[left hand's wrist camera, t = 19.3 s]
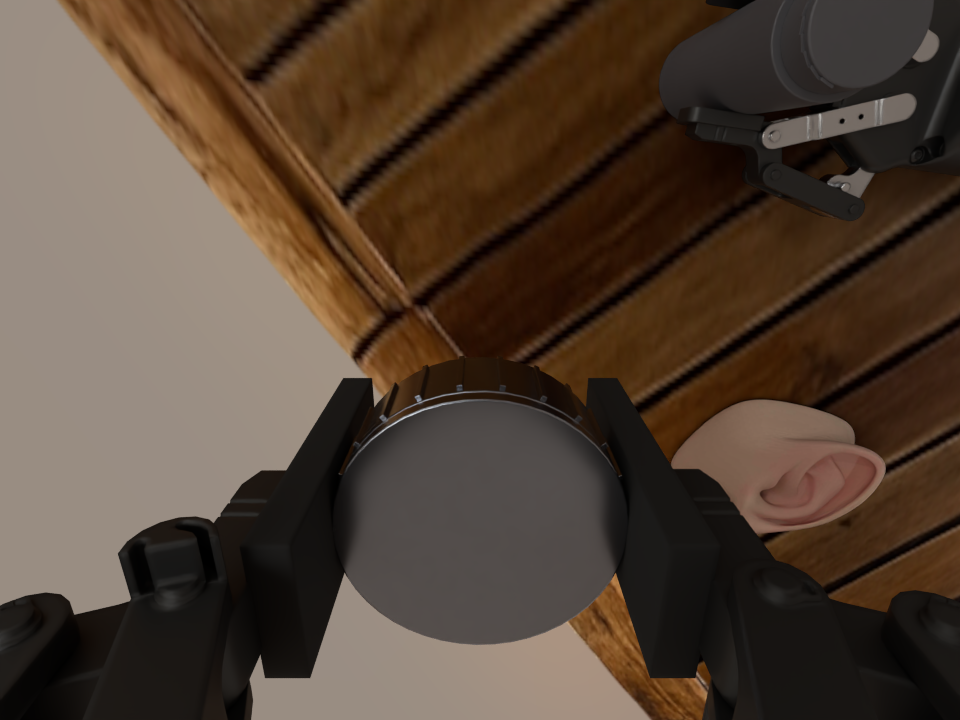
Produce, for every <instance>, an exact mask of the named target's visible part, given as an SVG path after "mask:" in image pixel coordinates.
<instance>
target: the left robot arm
mask: <svg viewBox="0 0 960 720" xmlns="http://www.w3.org/2000/svg"><path fill="white" fill-rule="evenodd" d="M370 407H372V408H374V398H373V385H372V378H343V380H342V381H341V383H340V385H339V386H338V388H337V389H336V391H335V393H334V394H333V396H332V397H331V399H330V401H329V402H328V404H327V406H326V407H325V409H324V410H323V412H322V414H321V415H320V417H319V418H318V420H317V422H316V423H315V425H314V427H313V428H312V430H311V431H310V433H309V435H308V436H307V438H306V440H305V441H304V443H303V444H302V446H301V448H300V449H299V451H298V452H297V454H296V456H295V457H294V459H293V461H292V462H291V464H290V465H289V467H288V469H287V470H286V471H260V472H259V473H257V474H256V475H254V476H253V477H252V478H250V479H249V480H247V481H246V482H245V483H243V484H242V485H241V486H240V488H239V489H238V490H237V492H236V493H235V495H234V496H233V497H232V499H231V500H230V503H228V504H227V506H226V507H225V508H224V510H223V511H222V512H221V516H220V517H218V518H217V519H216V521H215V522H214V523H213V522H212V521H210V520H209V519H204V518H200V517H180V518H175V519H171V520H168V521H164V522H160V523H158V524H156V525H154V526H151V527H149V528H147V529H145V530H143V531H141V532H140V533H138V534H137V535H136V536H134V537H133V538H132V539H130V540H129V541H127V543H126V544H125V545H124V546H123V548H122V549H121V550H120V552H119V553H118V556H119V559H120V563H121V566H122V569H123V572H124V576H125V579H126V583H127V586H128V590H129V593H130V596H131V600H130V601H129V602H126V603H122V604H119V605H115V606H111V607H106V608H102V609H98V610H93V611H89V612H85V613H80V614H76V615H74V613H73V610H72V607H71V604H70V602H69V601H68V600H67V599H66V598H65V597H64V596H62V595H61V594H53V593H40V594H34V595H28V596H24V597H21V598H19V599H16V600H12V601H10V602H7V603H5V604H2V605H1V606H0V720H251V715H252V705H253V697H252V690H251V685H250V680H249V679H250V677H251V674H252V672H253V670H254V667H255V665H256V663H257V661H258V658H259V656H260V654H261V660H262V665H263V670H264V675H265V678H310V677H311V674H312V671H313V668H314V664H315V662H316V658H317V655H318V652H319V649H320V646H321V643H322V640H323V637H324V634H325V631H326V628H327V625H328V622H329V619H330V615H331V612H332V609H333V606H334V603H335V600H336V597H337V594H338V591H339V588H340V585H341V582H342V578H343V576H344V573H345V572H344V570H343V568H342V566H341V564H340V562H339V559H338V556H337V553H336V550H335V545H334V537H333V529H332V507H333V501H334V496H335V493H336V490H337V487H338V484H339V481H340V479H339V478H337V477H338V474H339V471H340V469H341V467H342V465H343V462H344V460H345V458H346V456H347V453H348V451H349V449H350V447H351V444H352V442H353V440H354V438H355V436H357V435H358V432H359V430H360V428H361V425H362V423H363V421H364V419H365V416H366V414H367V412H368V410H369V408H370ZM586 408H587V409H589V408H591V409H592V411H593V413H594V415H595V417H596V419H597V422H598V424H599V426H600V428H601V431H602V433H603V435H604V437H606V440H607V442H608V444H609V446H610V448H611V451H612V453H613V455H614V457H615V460H616V462H617V464H618V466H619V469H620V471H621V473H622V475H623V480H621V483H622V485H623V488H624V491H625V495H626V499H627V503H628V512H629V523H628V532H627V540H626V547H625V552H624V555H623V557H622V560H621V562H620V565H619V567H618V569H617V571H616V575H617V578H618V581H619V584H620V587H621V590H622V593H623V596H624V599H625V602H626V605H627V608H628V611H629V614H630V618H631V621H632V624H633V627H634V630H635V633H636V636H637V639H638V642H639V645H640V648H641V651H642V654H643V657H644V660H645V664H646V667H647V670H648V673H649V676H650V678H695V677H696V672H697V666H698V661H699V656H700V653H701V655H702V657H703V660H704V662H705V664H706V666H707V669H708V671H709V673H710V675H711V680H710V685H709V690H708V694H707V699H706V704H705V709H704V713H703V718H702V720H960V603H959V602H957V601H955V600H952V599H950V598H946V597H944V596H941V595H938V594H935V593H929V592H922V591H916V590H914V591H906V592H900V593H899V594H897V595H896V596H895V597H894V598H892V600H891V603H890V606H889V609H888V611H887V613H886V612H881V611H877V610H873V609H868V608H864V607H859V606H855V605H851V604H846V603H842V602H839V601H836V600H832V599H829V597H828V596H827V594H826V593H825V591H824V590H823V588H822V587H821V585H820V584H819V583H817V582H816V581H815V580H814V579H813V578H811V577H810V576H809V575H808V574H807V573H805V572H803V571H801V570H799V569H797V568H795V567H793V566H791V565H789V564H786V563H783V562H779V561H776V560H775V559H774V557H773V556H772V555H771V553H770V552H769V551H768V549H767V548H766V546H765V545H764V544H763V542H762V541H761V540H760V538H759V537H758V536H757V534H756V533H755V531H754V530H753V529H752V527H751V526H750V525H749V523H748V522H747V521H746V519H745V518H744V516H743V515H740V511H739V510H738V508H737V507H736V506H735V504H734V503H733V502H731V501H730V497H729V496H728V495H727V493H726V492H725V490H724V489H723V488H722V486H721V485H720V484H719V482H717V481H716V480H714V479H713V478H711V477H710V476H709V475H707V474H706V473H704V472H703V471H701V470H700V469H673V468H672V466H671V465H670V463H669V462H668V460H667V458H666V457H665V455H664V454H663V452H662V450H661V449H660V447H659V445H658V444H657V442H656V441H655V439H654V437H653V436H652V434H651V432H650V431H649V429H648V428H647V426H646V424H645V423H644V421H643V420H642V418H641V416H640V415H639V413H638V411H637V410H636V408H635V407H634V405H633V403H632V402H631V400H630V398H629V397H628V395H627V394H626V392H625V390H624V389H623V387H622V386H621V384H620V382H619V381H618V379H617V378H588V389H587V402H586Z"/></svg>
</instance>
